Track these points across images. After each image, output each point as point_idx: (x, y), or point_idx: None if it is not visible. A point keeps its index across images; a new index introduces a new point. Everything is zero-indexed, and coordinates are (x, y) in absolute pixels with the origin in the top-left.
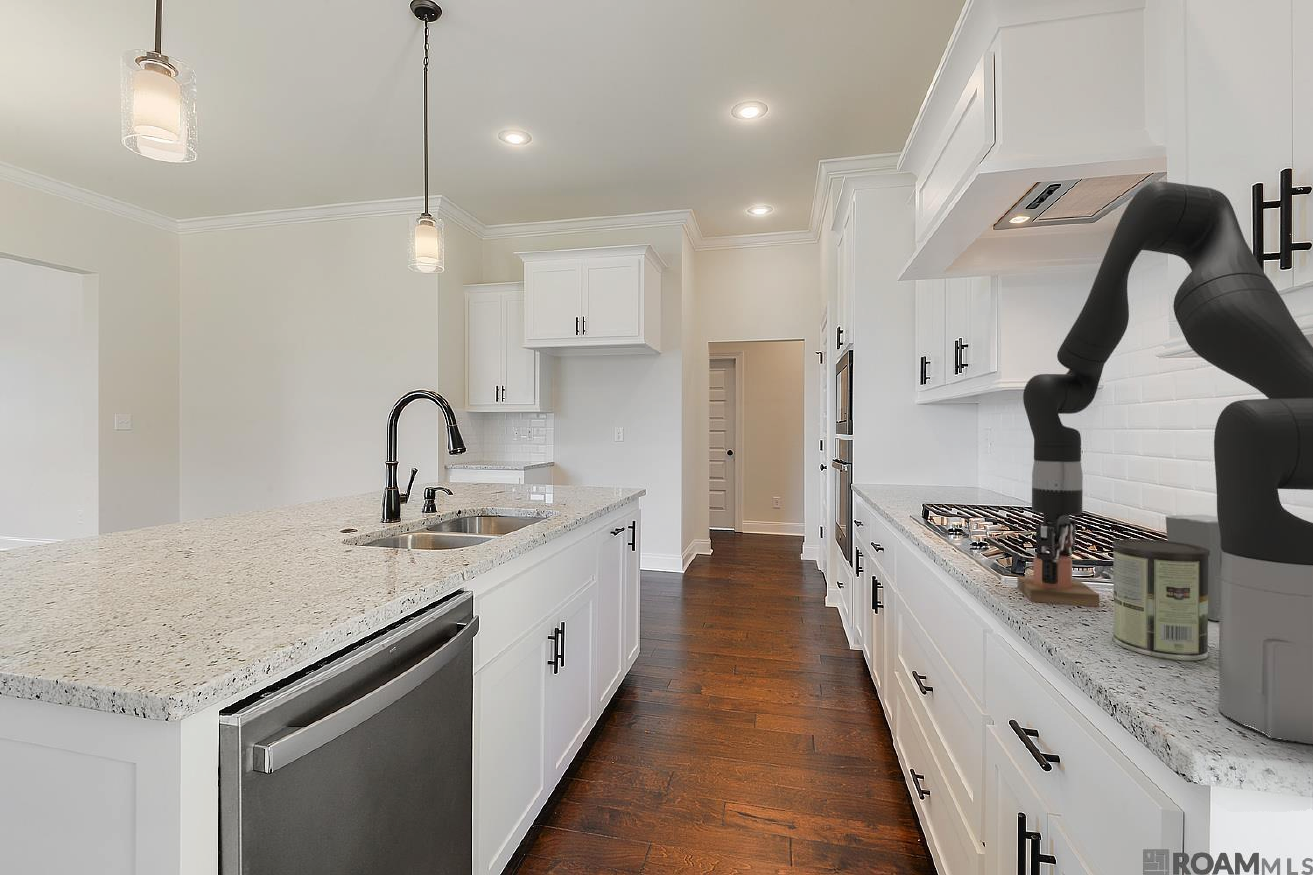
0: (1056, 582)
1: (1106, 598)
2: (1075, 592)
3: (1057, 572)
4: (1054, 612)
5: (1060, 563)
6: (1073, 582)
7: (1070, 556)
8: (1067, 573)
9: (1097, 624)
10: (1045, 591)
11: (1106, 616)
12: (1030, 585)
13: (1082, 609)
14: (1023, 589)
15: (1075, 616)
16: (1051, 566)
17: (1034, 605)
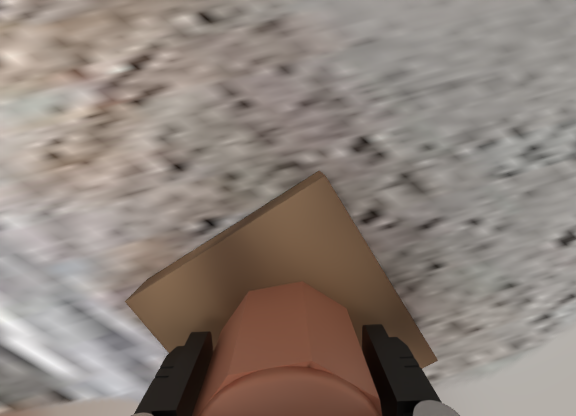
0: (379, 325)
1: (168, 189)
2: (353, 249)
3: (383, 356)
4: (502, 244)
5: (365, 391)
6: (182, 305)
7: (146, 414)
8: (321, 327)
9: (564, 107)
10: (414, 324)
11: (434, 116)
12: None
13: (396, 198)
14: None
15: (507, 186)
16: (437, 399)
17: (457, 310)
